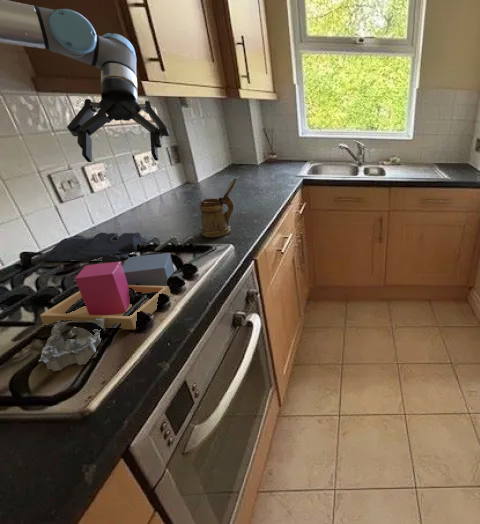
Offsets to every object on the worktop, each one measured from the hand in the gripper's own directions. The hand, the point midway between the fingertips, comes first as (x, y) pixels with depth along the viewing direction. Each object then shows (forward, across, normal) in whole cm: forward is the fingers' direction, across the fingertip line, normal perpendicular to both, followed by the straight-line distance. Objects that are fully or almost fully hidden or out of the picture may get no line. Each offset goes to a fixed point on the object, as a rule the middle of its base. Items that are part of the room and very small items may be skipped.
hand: (121, 157), depth 79 cm
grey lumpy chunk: (+45, +5, +6) cm, 46 cm away
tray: (+36, +3, -3) cm, 36 cm away
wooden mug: (+6, -18, -34) cm, 39 cm away
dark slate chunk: (+10, +15, -29) cm, 34 cm away
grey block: (+28, -2, -12) cm, 30 cm away
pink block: (+36, +3, -3) cm, 36 cm away
